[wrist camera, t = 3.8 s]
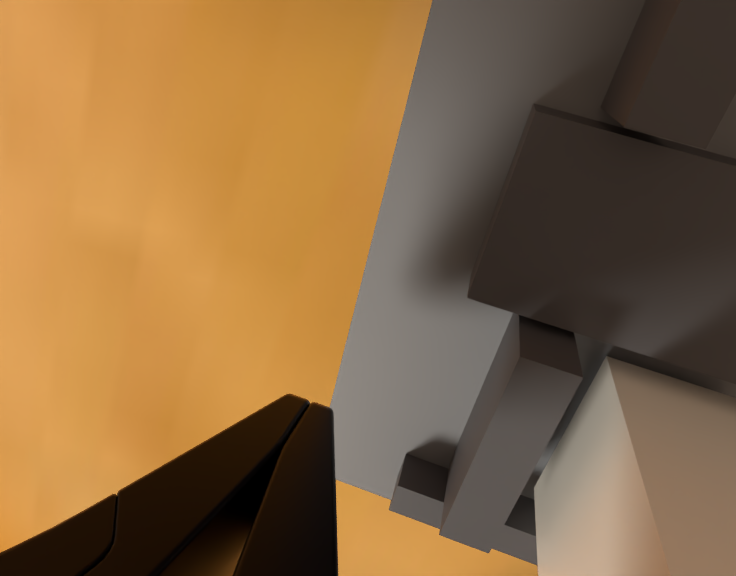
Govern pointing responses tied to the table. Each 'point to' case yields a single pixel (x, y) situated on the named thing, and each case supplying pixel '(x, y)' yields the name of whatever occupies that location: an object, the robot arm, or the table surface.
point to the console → (539, 247)
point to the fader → (641, 481)
